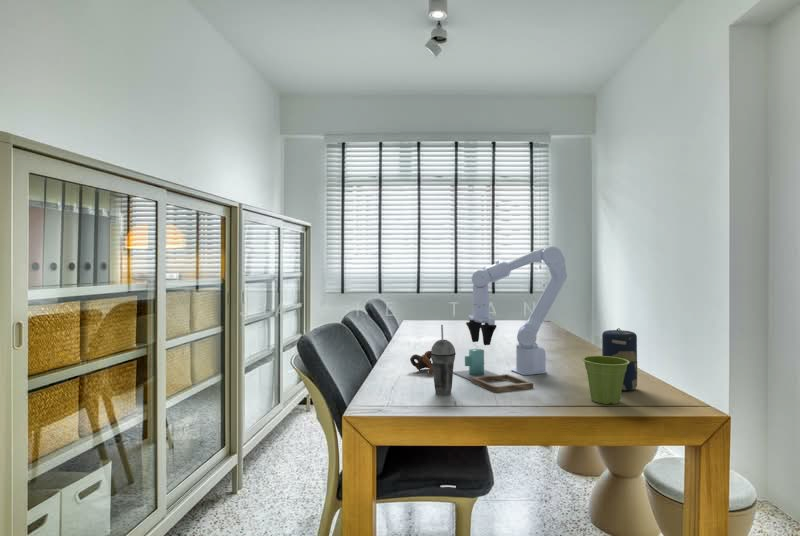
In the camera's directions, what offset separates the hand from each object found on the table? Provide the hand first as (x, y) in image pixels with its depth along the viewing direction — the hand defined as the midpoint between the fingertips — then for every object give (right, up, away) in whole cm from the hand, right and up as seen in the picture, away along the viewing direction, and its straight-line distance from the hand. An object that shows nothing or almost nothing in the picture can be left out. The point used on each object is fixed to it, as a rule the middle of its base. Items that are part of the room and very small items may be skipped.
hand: (481, 343), depth 176 cm
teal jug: (-3, -9, -8) cm, 12 cm away
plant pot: (+27, -10, -40) cm, 49 cm away
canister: (+37, -10, -27) cm, 47 cm away
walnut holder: (+3, -10, -22) cm, 24 cm away
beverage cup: (-16, -10, -31) cm, 37 cm away
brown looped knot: (-19, -10, -2) cm, 21 cm away
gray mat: (-3, -10, -8) cm, 13 cm away
